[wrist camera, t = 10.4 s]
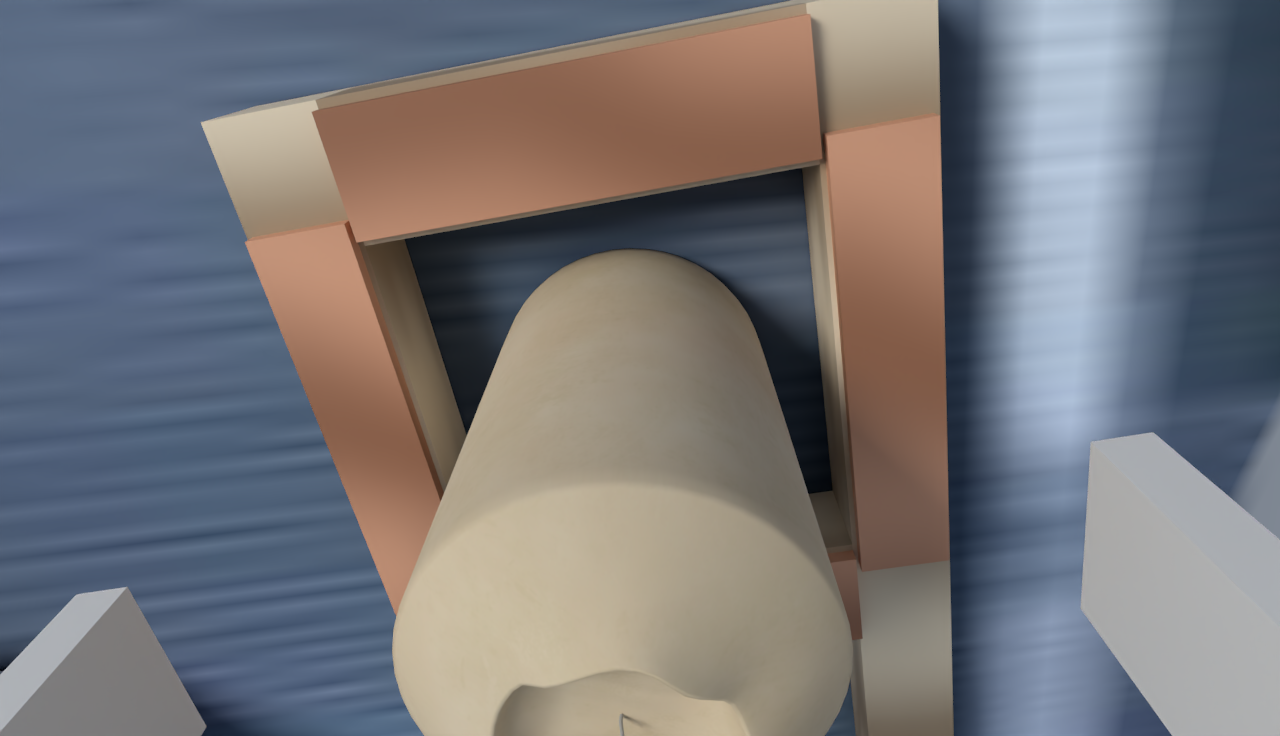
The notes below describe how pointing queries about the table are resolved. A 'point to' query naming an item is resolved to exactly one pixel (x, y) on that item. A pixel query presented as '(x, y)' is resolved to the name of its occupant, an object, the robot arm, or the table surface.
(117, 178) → the table surface
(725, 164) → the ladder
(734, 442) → the candle
